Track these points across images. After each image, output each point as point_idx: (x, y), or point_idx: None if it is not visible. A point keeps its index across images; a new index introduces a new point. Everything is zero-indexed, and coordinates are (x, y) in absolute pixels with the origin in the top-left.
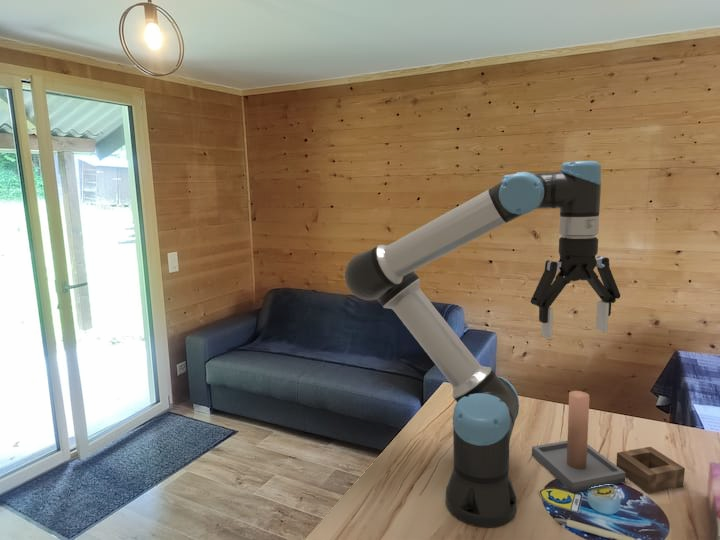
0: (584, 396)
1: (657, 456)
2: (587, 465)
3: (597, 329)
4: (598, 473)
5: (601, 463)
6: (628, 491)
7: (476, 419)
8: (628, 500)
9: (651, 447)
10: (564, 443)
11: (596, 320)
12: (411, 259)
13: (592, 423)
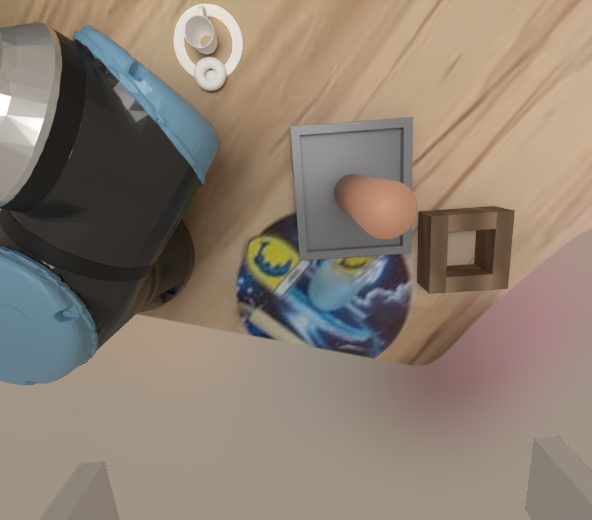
0: (394, 225)
1: (495, 245)
2: None
3: (533, 452)
4: None
5: None
6: (392, 270)
7: None
8: (374, 290)
9: (513, 213)
10: (366, 129)
11: (587, 501)
12: None
13: (512, 17)
